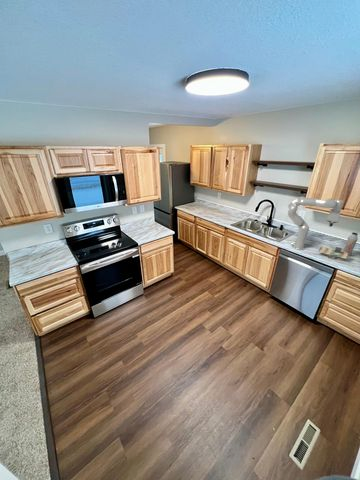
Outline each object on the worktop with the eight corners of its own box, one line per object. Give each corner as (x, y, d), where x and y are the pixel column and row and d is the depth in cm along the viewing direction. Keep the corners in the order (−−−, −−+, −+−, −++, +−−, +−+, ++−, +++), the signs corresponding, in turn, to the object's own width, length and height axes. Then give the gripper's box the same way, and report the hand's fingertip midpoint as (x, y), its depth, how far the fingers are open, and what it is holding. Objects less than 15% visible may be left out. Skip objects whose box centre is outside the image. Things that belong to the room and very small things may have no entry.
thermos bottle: (348, 257, 219) (357, 235, 207) (340, 254, 226) (349, 232, 213) (351, 255, 223) (361, 233, 210) (343, 252, 229) (352, 231, 216)
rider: (333, 253, 216) (335, 248, 213) (334, 251, 219) (335, 246, 217) (339, 255, 213) (341, 250, 210) (339, 253, 217) (341, 248, 214)
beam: (317, 255, 226) (319, 248, 222) (318, 252, 230) (320, 246, 226) (345, 262, 211) (348, 255, 208) (345, 259, 216) (348, 253, 212)
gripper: (327, 210, 213) (322, 226, 222) (344, 213, 205) (338, 229, 213) (327, 209, 218) (322, 224, 227) (344, 211, 210) (338, 226, 218)
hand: (330, 226), depth 220 cm, fingers closed
